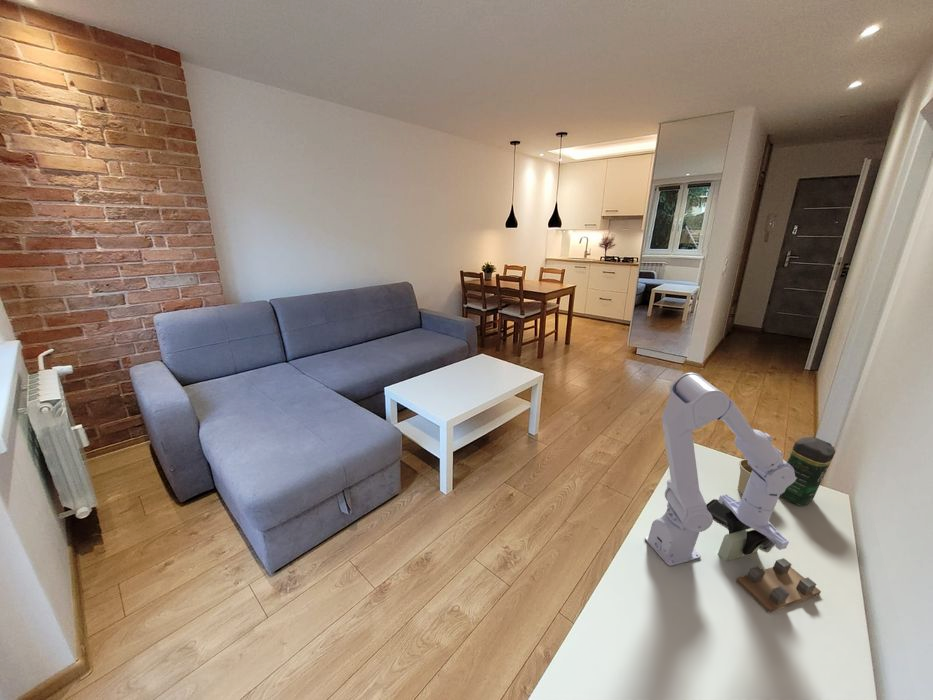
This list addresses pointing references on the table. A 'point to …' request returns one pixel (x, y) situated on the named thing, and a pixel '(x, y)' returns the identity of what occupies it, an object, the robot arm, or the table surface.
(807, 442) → the coffee jar
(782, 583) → the rail
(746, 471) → the flower pot
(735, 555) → the door panel
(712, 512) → the phone
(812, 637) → the table surface
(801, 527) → the table surface
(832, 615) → the table surface
